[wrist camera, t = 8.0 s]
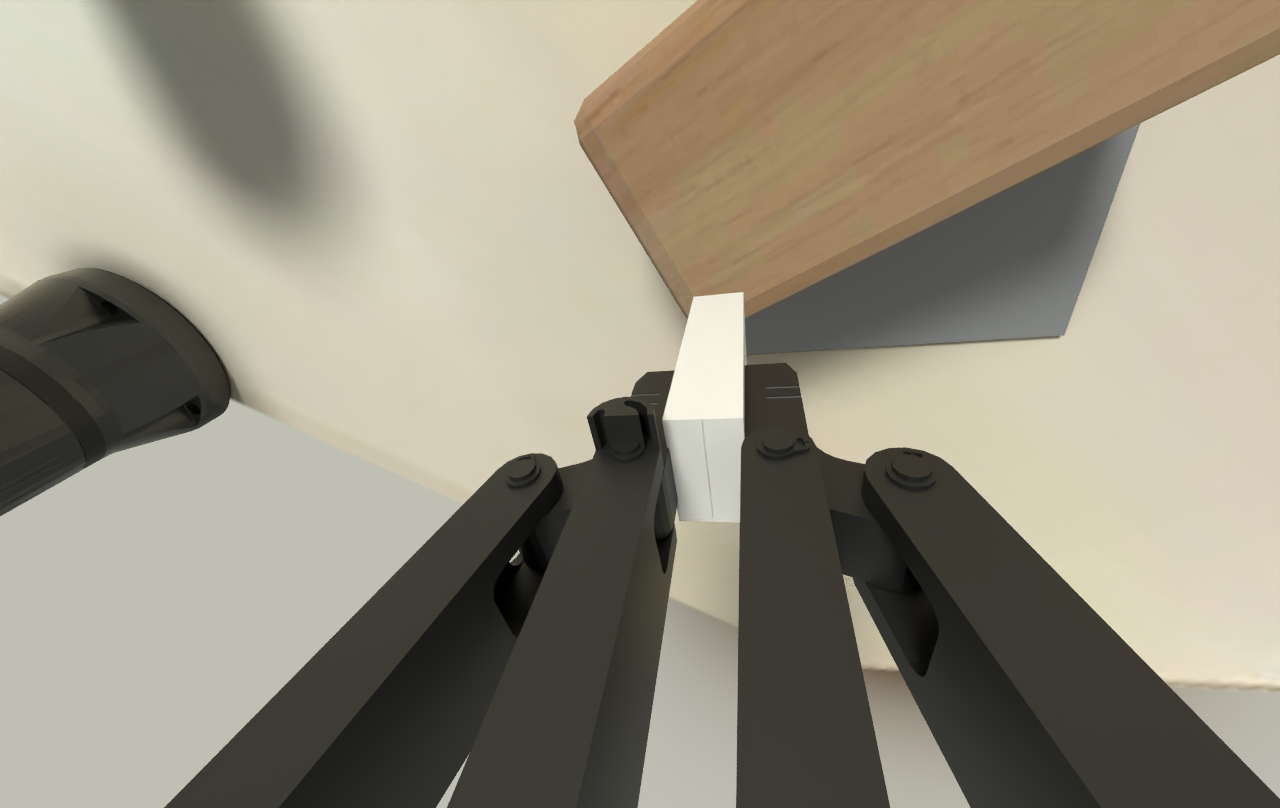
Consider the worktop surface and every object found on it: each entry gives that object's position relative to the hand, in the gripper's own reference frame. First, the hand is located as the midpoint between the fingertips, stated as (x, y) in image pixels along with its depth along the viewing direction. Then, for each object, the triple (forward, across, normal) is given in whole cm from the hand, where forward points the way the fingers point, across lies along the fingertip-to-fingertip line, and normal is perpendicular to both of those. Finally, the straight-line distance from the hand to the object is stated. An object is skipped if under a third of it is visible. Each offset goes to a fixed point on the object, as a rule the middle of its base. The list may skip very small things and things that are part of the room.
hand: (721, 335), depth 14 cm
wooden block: (+9, -4, +2) cm, 10 cm away
